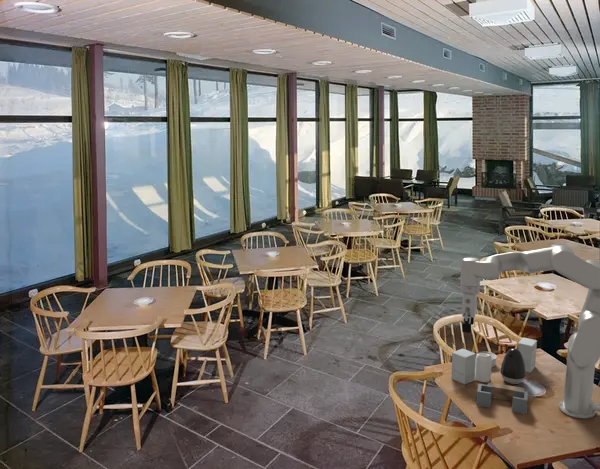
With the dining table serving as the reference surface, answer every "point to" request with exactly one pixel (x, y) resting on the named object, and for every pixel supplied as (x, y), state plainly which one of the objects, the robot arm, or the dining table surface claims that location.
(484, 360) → the can
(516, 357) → the dark grey egg shape
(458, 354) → the supplement box
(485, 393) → the endcaps
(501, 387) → the slat
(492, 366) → the ramekin
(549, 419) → the dining table surface
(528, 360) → the small box
